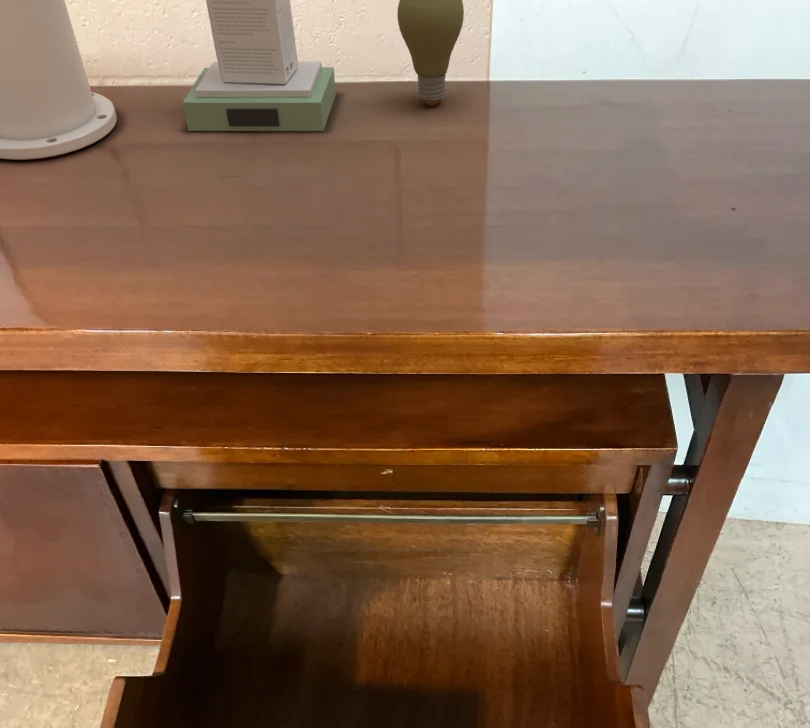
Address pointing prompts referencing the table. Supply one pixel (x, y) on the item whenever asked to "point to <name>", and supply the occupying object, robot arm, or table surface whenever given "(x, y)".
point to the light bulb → (430, 41)
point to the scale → (262, 102)
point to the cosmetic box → (253, 40)
